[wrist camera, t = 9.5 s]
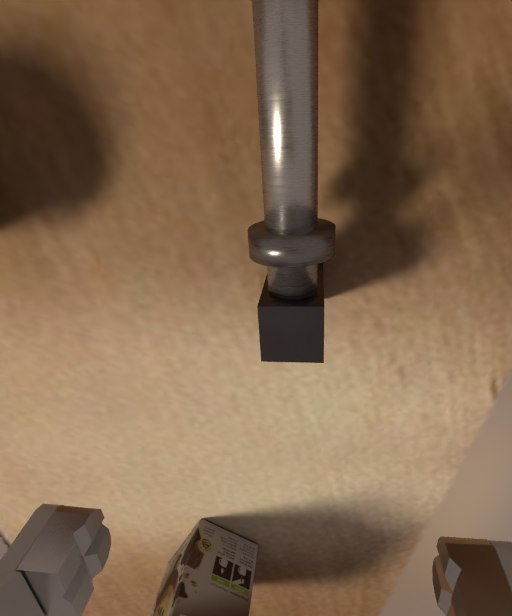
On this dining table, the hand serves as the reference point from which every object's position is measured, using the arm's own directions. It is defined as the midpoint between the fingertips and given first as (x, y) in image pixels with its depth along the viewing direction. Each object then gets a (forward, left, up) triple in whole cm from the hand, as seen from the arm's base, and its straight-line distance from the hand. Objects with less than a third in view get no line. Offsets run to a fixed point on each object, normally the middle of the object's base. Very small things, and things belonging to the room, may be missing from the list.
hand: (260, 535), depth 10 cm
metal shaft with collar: (-8, 0, -17) cm, 18 cm away
